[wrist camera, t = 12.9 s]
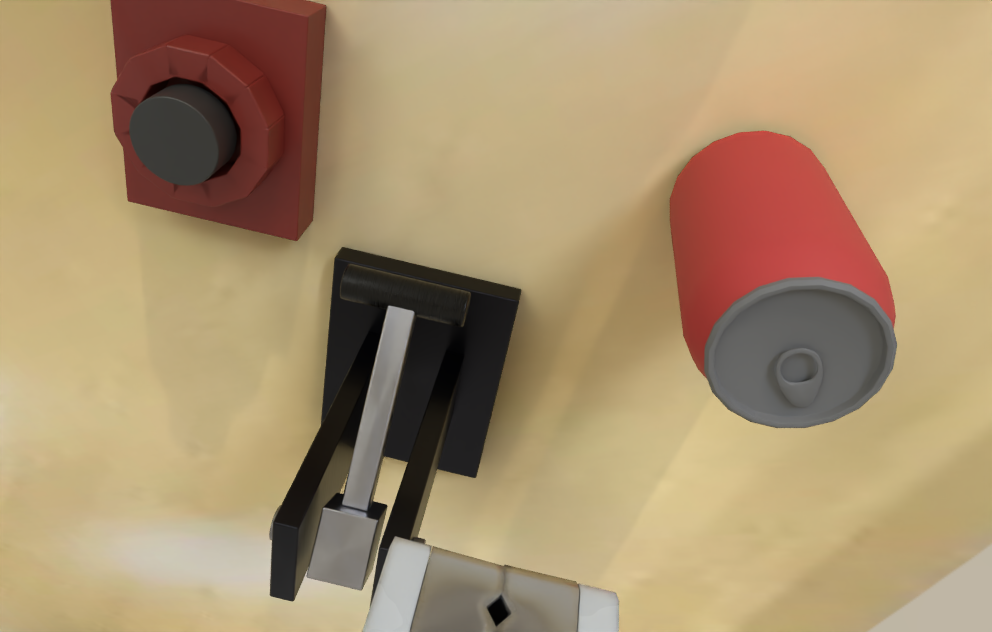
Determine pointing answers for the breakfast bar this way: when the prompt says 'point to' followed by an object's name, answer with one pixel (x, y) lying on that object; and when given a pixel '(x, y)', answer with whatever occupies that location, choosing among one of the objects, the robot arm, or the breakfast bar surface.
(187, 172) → the button
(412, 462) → the bracket
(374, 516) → the lever
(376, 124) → the breakfast bar surface
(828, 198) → the beer can
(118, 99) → the button box
